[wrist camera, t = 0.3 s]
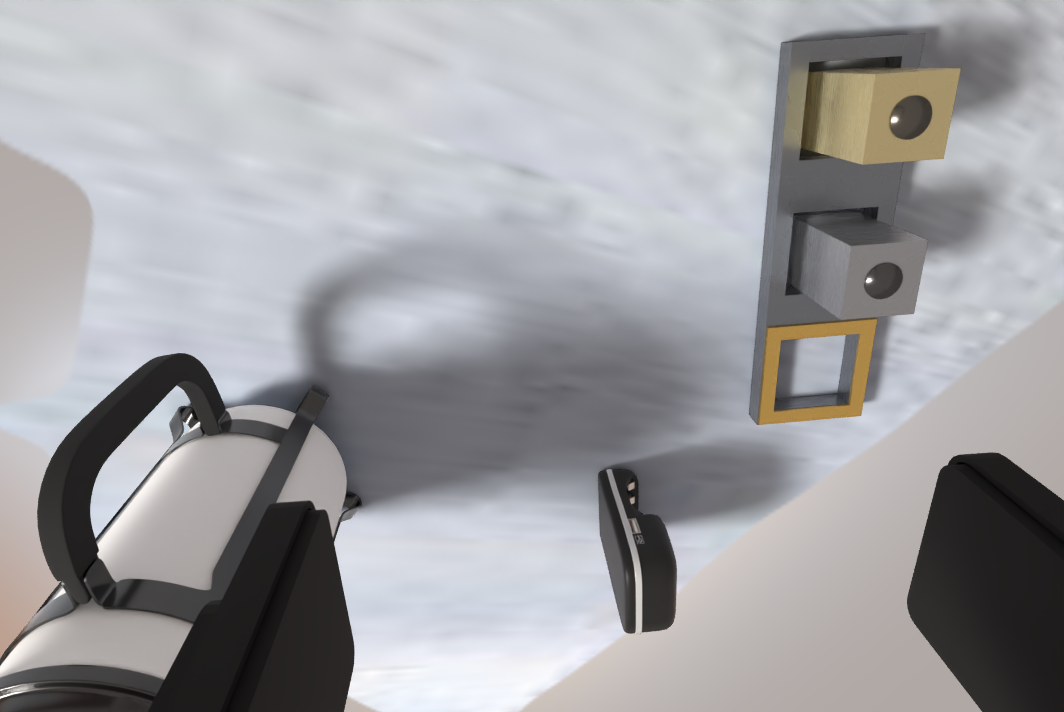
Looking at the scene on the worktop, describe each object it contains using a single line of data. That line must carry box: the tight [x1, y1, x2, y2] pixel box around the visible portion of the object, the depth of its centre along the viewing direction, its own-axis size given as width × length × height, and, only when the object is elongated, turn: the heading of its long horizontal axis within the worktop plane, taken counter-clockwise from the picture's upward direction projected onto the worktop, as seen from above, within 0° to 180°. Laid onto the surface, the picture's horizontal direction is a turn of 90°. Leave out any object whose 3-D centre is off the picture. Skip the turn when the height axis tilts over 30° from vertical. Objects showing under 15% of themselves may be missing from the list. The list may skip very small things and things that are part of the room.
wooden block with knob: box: [800, 67, 961, 165], centre depth 38 cm, size 4×4×8 cm
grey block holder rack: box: [749, 33, 925, 425], centre depth 45 cm, size 26×8×2 cm, turn 4°
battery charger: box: [598, 469, 677, 635], centre depth 48 cm, size 7×4×11 cm, turn 4°
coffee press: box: [0, 353, 362, 712], centre depth 35 cm, size 17×16×30 cm
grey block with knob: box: [787, 211, 928, 320], centre depth 42 cm, size 4×4×8 cm
